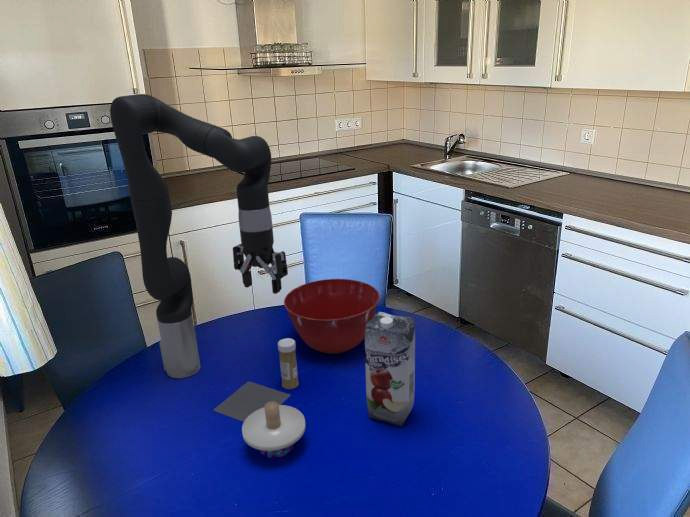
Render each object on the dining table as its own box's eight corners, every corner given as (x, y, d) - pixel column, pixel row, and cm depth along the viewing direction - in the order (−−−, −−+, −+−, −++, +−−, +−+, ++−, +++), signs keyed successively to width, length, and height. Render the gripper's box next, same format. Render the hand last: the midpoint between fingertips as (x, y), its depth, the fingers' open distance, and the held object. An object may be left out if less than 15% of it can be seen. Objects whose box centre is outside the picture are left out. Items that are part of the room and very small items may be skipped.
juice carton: (377, 398, 136) (376, 303, 126) (417, 409, 132) (418, 311, 122) (363, 419, 129) (360, 320, 119) (404, 431, 124) (404, 328, 114)
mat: (213, 412, 133) (212, 410, 133) (248, 383, 145) (248, 381, 145) (257, 428, 127) (257, 426, 127) (291, 396, 138) (290, 394, 138)
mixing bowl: (268, 350, 160) (263, 304, 155) (325, 313, 182) (322, 271, 176) (345, 378, 145) (343, 328, 139) (397, 334, 167) (397, 289, 161)
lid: (229, 438, 117) (225, 415, 115) (267, 403, 128) (265, 381, 126) (281, 458, 110) (279, 434, 108) (317, 419, 122) (315, 396, 119)
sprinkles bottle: (301, 386, 142) (298, 342, 137) (286, 392, 140) (282, 348, 135) (293, 378, 146) (290, 335, 141) (278, 384, 144) (274, 341, 139)
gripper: (221, 226, 123) (229, 290, 129) (271, 234, 117) (277, 301, 122) (242, 217, 129) (249, 278, 135) (290, 224, 123) (295, 288, 129)
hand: (262, 289), depth 129 cm, fingers open, 8 cm apart
